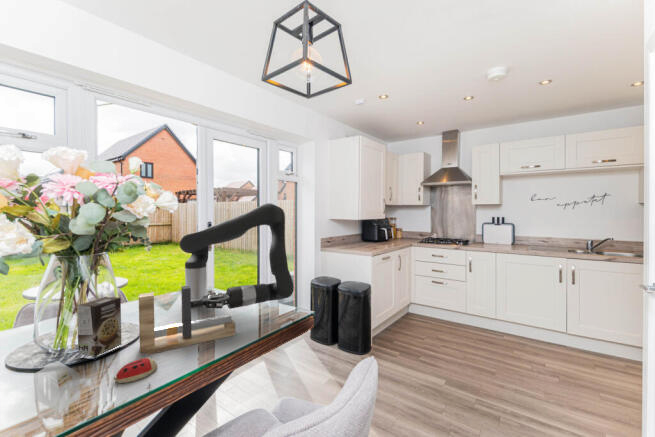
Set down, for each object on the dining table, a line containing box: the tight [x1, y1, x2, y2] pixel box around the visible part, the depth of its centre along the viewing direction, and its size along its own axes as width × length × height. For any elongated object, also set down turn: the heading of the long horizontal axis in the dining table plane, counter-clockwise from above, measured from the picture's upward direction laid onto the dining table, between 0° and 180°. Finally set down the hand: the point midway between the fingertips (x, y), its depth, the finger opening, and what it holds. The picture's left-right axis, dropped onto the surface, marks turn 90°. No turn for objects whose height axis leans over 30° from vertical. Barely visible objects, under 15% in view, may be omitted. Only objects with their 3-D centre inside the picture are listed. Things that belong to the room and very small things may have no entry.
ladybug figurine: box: [114, 357, 158, 384], centre depth 78 cm, size 7×10×4 cm
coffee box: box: [77, 296, 122, 357], centre depth 90 cm, size 9×6×16 cm
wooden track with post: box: [138, 292, 237, 355], centre depth 99 cm, size 9×29×17 cm, turn 122°
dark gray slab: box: [180, 285, 192, 338], centre depth 99 cm, size 5×2×16 cm, turn 32°
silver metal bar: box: [154, 313, 233, 338], centre depth 100 cm, size 3×26×3 cm, turn 122°
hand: (190, 304), depth 99 cm, fingers closed
